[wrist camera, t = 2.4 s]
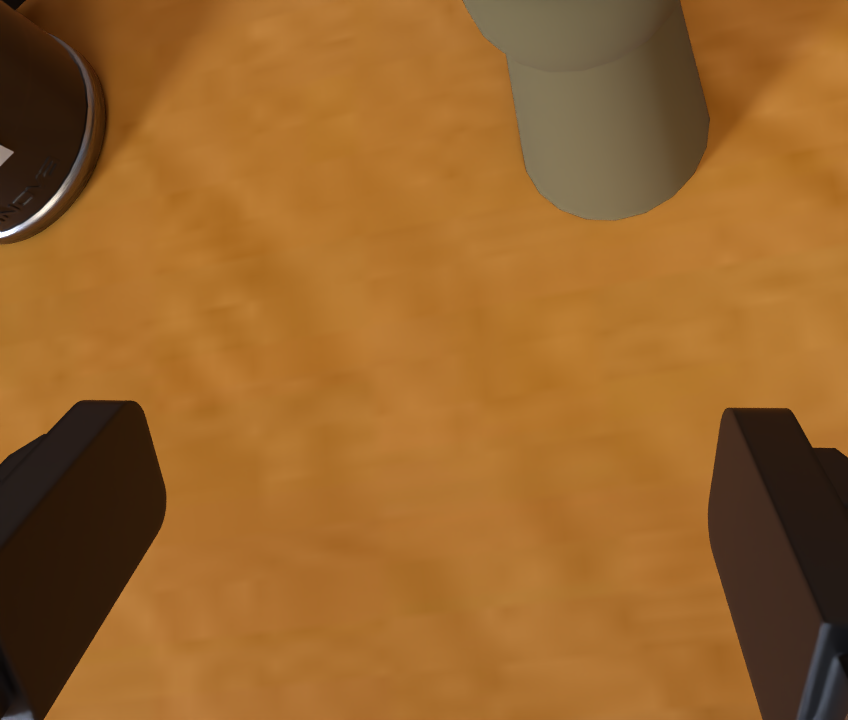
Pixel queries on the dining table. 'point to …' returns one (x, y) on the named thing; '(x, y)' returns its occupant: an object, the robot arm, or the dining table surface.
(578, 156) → the pawn
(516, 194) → the dining table surface
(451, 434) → the dining table surface
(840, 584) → the robot arm
